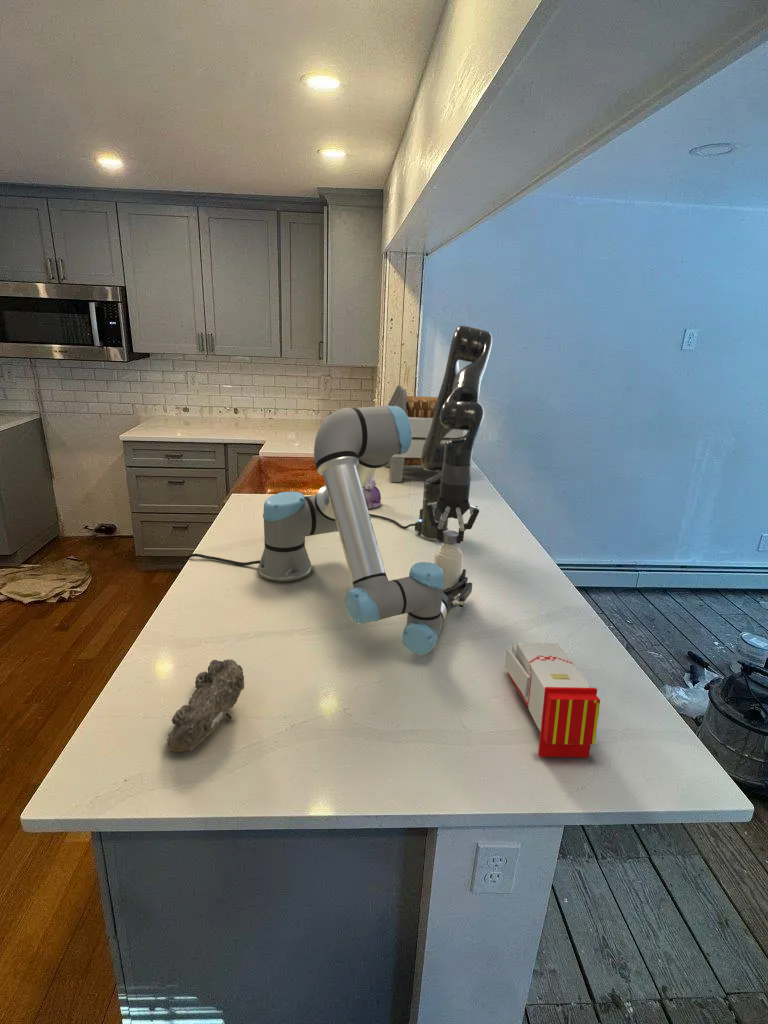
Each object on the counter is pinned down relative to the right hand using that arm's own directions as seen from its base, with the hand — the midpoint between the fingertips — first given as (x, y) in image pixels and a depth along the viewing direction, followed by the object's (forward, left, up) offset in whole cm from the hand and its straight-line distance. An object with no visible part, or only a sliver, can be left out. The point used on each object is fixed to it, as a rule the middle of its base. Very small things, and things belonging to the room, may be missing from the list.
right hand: (449, 541), depth 150 cm
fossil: (-11, -69, -17) cm, 72 cm away
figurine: (-62, +49, -17) cm, 81 cm away
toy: (+38, -27, -17) cm, 50 cm away
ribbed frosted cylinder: (0, 0, -17) cm, 17 cm away
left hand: (-2, +5, -11) cm, 12 cm away
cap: (0, 0, +2) cm, 2 cm away
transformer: (-73, +104, -17) cm, 128 cm away
